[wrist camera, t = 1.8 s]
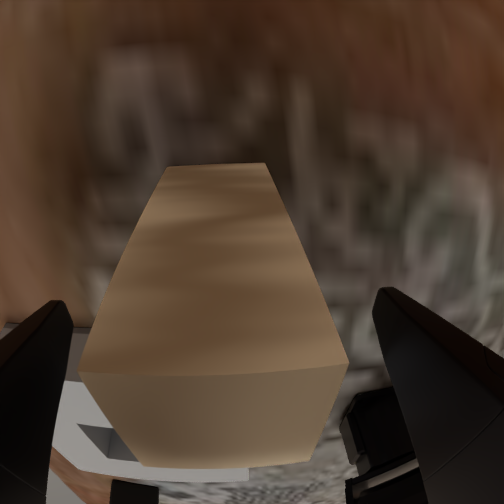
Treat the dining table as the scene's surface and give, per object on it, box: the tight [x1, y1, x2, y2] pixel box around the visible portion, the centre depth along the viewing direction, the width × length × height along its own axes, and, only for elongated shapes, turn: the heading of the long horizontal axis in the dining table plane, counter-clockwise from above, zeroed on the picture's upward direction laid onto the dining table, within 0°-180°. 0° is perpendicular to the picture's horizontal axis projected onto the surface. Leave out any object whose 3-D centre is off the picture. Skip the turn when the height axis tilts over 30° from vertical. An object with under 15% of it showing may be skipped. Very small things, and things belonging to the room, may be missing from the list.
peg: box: [77, 163, 349, 469], centre depth 9 cm, size 4×4×10 cm
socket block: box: [0, 323, 249, 482], centre depth 19 cm, size 16×16×4 cm
